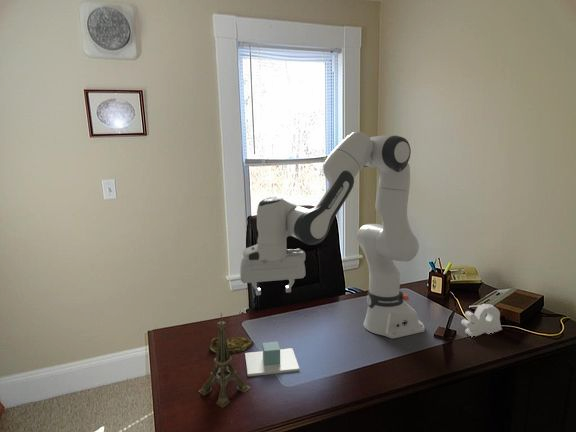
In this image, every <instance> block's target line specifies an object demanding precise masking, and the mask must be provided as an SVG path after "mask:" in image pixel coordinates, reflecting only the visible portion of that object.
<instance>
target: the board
mask: <svg viewBox="0 0 576 432" xmlns="http://www.w3.org/2000/svg"><path fill="white" fill-rule="evenodd" d="M293 349H294V348H292V347H291V348H290V347H288V348H280V364H276V365H267V366H265V365H264V360H263V350H261V351H250V352H245V353H244V356H245V363H246V364H245V365H246V373H247V374H246V375H247V377H257V376H262V375H263V376H267V375H274V374H283V373H284V374H285V373H291V372H300V366H299V363H298V359H297V356H296V355H295V352H294V350H293Z"/></svg>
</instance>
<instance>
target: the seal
mask: <svg viewBox="0 0 576 432" xmlns="http://www.w3.org/2000/svg"><path fill="white" fill-rule="evenodd" d="M226 338H227V337H226ZM227 344H228V349H229V355H231V354H239V353H242V352H245V351H246V350H248V349H250V348H251V347H252V346H253V345H254V341H253V340H252V339H249V338H246V337H241V336H238V337H237V336H236V337H229V338H227ZM217 345H218V336H217V337H216V336H215V337H213V338H212V340H211V344H210V346H209V349H210V351H212V352H214V353H215V354H217Z"/></svg>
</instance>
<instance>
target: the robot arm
mask: <svg viewBox="0 0 576 432" xmlns="http://www.w3.org/2000/svg"><path fill="white" fill-rule="evenodd" d="M410 159H411V146H410V143H409V141H408V140H407V138H405V137H403V136H399V135H385V134H384V135H378V136H376V135H373V136H368V135H367V134H366V133H365V132H362V131H354V132H351V133H350V134H348V135H347V136H346V137H345V138H344V139H342V141H341V142H339V144H338V145H336V147H334V149H333V150H332V151H331V152H330V154H329V155H328V156H327V158H325V161H324V162H323V166H322V168H323V169H322V170H323V174H324V177H325V179H326V180H327V181H328V183H329V186H328V189H327V190H326V192H325V193H324V195H323V196H322V198H321V199H320V201H319V202H318V204H317V205H316V206H315V207H312V208H306V207H304V206H301V205H296V204H294V203H291V202H289V201H287V200H285V199H284V198H283V197H281V196H271V197H270V196H269V197H266V198H265V199H262V200H261V201H259V203H258V205H257V209H256V210H257V211H256V230H257V233H258V234H257V243H256V244H254V245H252V246H249V247H248V246H247V247H246V248H244V249H243V253H242V254H243V258H242V259H241V262H240V270H239V278H240V279H239V280H240V282H241V283H243V284H251V285H252V287H253V289H254V290H255V295H256V296H261V295H262V290H261V288H260V287H258V286H257V285H258V283H263V282H272V281H273V282H274V281H285V280H288V281H289V283H288V284H287V285H285V293H288V294H289V293H291V292H292V287H293V285H294V283H295V280H297V279H303V278H304V277H305V276H306V265H305V261H306V252H305V250H303V249H301V248H296V249H295V248H294V249H293V248H289V249H288V248H287V238H288V237H293V238H295V239H297V240H299V241H301V242H302V243H304V244H305V245H308V246H313V245H314V246H315V245H318V244H320V243H322V241H324V239H325V238H326V237H327V236H328V234H329V231H330V228H331V226H332V224H333V221H334V219H335V217H336V215H337V214H338V213H339V211H340V209H341V208H342V206H343V204H344V203H345V201H346V200H347V198H348V197H349V195H350V193H351V192H352V189H353V187H354V184H355V178H356V177H357V175H358V174H359V172H360V171H361V170H362V169H363V168H373V169H378V171H379V176H378V183H377V189H376V195H375V196H376V197H375V206H374V207H375V211H376V213H377V214H378V215H379V216H380V218H381V222H382V224H379V223H366V224H364V225H362V226H361V227H360V228H359V230H358V231H357V233H356V240H357V244H358V246H360V248H361V250H362V251H363V254H364V256H365V259H366V262H367V266H368V273H369V274H368V275H369V277H368V279H369V282H368V290H367V297H366V301H367V310H366V315H365V318H364V321H363V328H364V329H365V330H367V331H369V332H370V333H373V334H375V335H379V336H383V337H384V336H385V337H387V338H390V339H397V338H401V337H407V336H410V335H414V334H419V333H424V332H425V330H426V329H425V325H424V323H423V322H422V321H421V320H420V319H419V315H418V312H417V311H416V310H415V309H414V308H413V307H412V305H409V303H407V302H408V301H409V299H410V297H409V295H407V294H406V293H404V292H402V291H401V290H400V289H401V288H400V286H401V285H400V284H401V273H400V270H399V268H398V267H397V266H396V265H395V263H394V261H396V262H404V263H405V262H410V261H412V260H413V259H415V257H416V256H417V255H418V252H419V248H420V244H419V240H418V238H417V237H416V236H415V234H414V233H413V231H412V229H411V226H410V223H409V219H408V202H409V194H410V186H411V168H410V167H411V166H410V163H409V161H410Z"/></svg>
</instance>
